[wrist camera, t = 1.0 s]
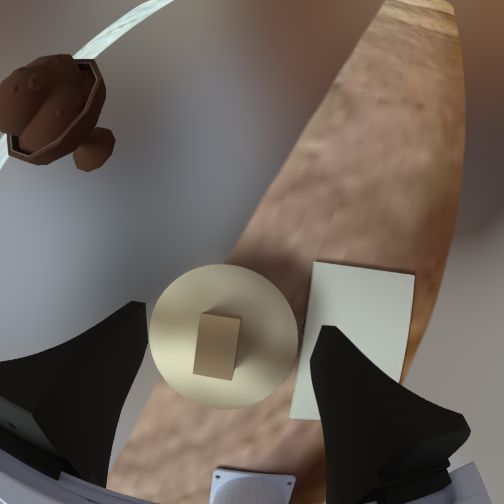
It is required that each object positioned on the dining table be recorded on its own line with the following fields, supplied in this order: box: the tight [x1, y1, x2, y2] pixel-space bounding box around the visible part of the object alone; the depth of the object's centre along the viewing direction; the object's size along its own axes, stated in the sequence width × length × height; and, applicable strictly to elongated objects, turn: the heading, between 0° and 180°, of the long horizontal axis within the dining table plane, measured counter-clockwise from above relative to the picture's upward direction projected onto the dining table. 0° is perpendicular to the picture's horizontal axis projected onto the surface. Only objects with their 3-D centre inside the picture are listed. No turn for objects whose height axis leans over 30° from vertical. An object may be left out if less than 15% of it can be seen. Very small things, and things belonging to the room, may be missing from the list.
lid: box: [149, 264, 298, 409], centre depth 19 cm, size 11×11×4 cm
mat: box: [289, 262, 415, 420], centre depth 23 cm, size 14×10×1 cm
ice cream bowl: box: [0, 54, 115, 172], centre depth 19 cm, size 11×11×15 cm
